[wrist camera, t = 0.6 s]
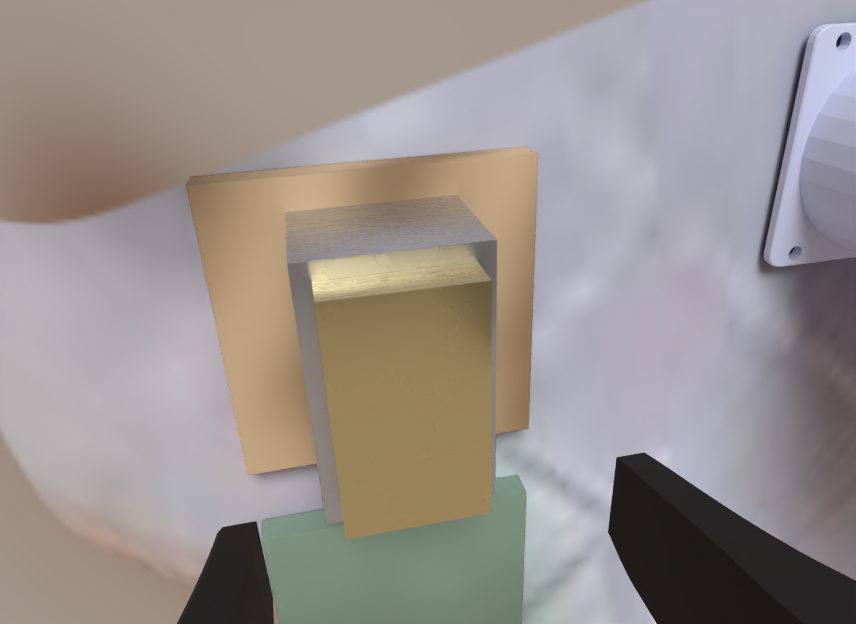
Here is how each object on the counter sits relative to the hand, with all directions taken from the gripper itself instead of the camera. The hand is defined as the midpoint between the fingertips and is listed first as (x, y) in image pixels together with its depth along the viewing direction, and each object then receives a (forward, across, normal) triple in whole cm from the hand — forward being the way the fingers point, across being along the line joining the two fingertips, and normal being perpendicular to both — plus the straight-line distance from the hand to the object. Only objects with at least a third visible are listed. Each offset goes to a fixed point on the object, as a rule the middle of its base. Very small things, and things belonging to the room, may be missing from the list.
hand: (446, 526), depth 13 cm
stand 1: (+10, 0, 0) cm, 10 cm away
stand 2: (+10, 0, +13) cm, 16 cm away
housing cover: (+5, 0, 0) cm, 5 cm away
